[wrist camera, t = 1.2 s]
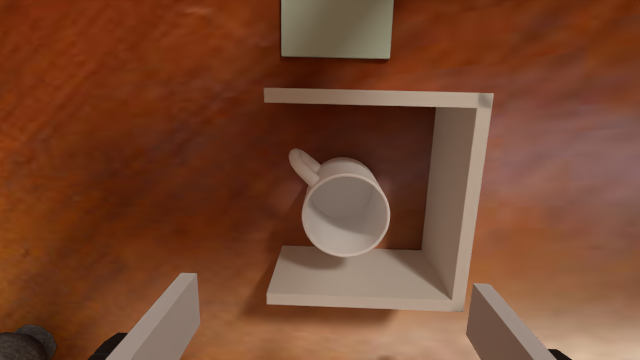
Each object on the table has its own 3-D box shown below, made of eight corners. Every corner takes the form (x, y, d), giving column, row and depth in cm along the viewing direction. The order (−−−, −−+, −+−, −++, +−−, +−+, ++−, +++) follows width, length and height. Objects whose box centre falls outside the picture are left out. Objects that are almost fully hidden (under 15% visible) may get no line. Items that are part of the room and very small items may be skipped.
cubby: (282, 91, 39) (263, 87, 28) (447, 95, 38) (493, 93, 27) (282, 253, 43) (266, 304, 33) (429, 259, 43) (463, 311, 32)
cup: (341, 233, 42) (345, 273, 33) (272, 168, 41) (254, 190, 31) (389, 188, 41) (408, 216, 31) (319, 119, 39) (316, 125, 29)
